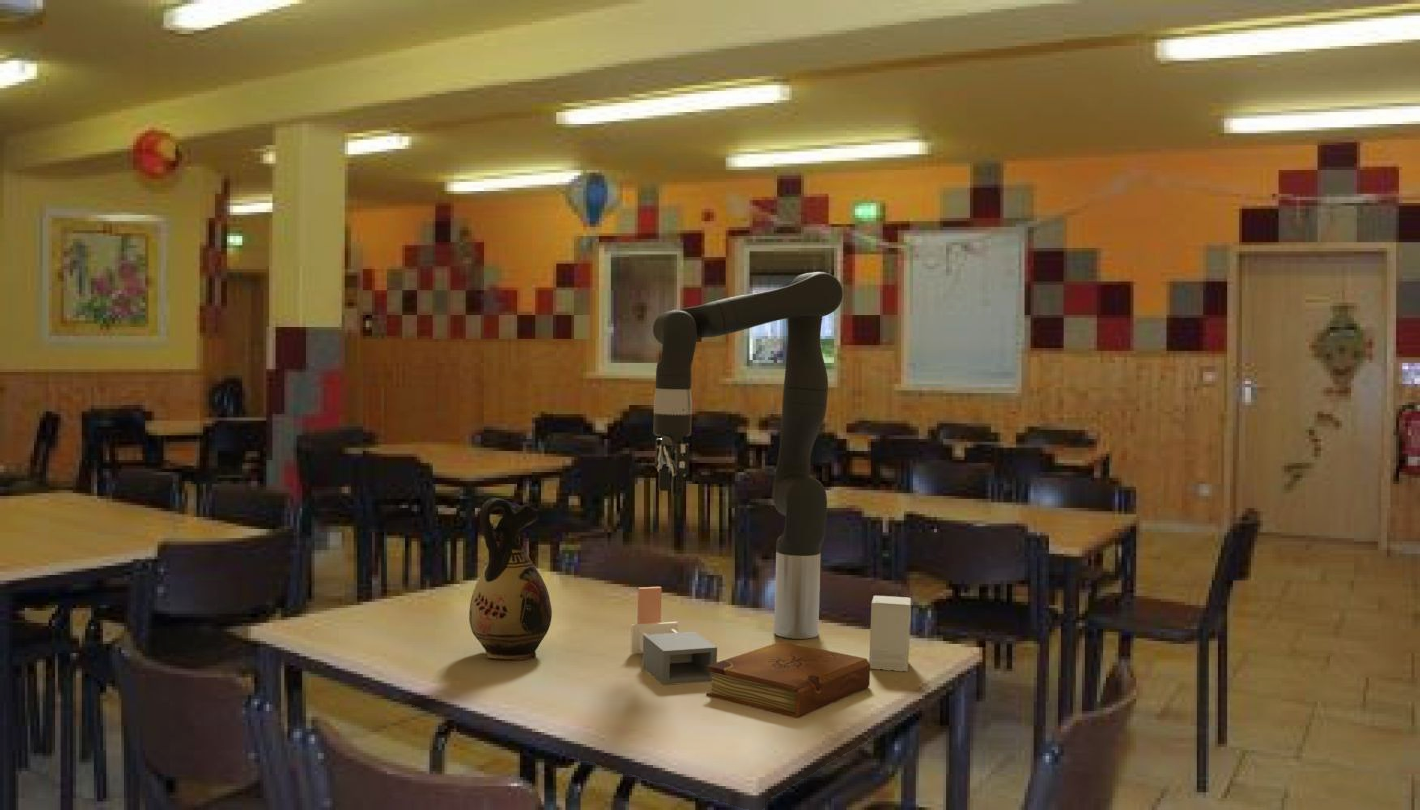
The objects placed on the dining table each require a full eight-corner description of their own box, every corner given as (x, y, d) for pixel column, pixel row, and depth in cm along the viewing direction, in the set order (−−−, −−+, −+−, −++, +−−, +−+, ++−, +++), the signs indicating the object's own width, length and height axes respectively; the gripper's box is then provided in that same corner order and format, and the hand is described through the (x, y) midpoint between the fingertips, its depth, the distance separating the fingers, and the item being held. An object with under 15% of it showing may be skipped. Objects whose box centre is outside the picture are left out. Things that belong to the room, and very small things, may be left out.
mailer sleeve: (693, 663, 218) (694, 631, 218) (716, 680, 207) (717, 647, 206) (642, 667, 215) (643, 634, 214) (662, 685, 203) (663, 651, 203)
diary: (798, 722, 187) (799, 687, 186) (706, 699, 198) (706, 666, 198) (869, 690, 205) (870, 658, 205) (780, 670, 216) (781, 640, 216)
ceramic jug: (519, 640, 232) (522, 490, 230) (567, 656, 221) (570, 499, 219) (445, 654, 220) (447, 496, 218) (491, 672, 209) (494, 505, 208)
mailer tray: (669, 644, 230) (671, 586, 230) (698, 666, 214) (699, 604, 214) (625, 647, 227) (626, 588, 226) (650, 669, 211) (652, 606, 211)
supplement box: (908, 672, 216) (910, 605, 215) (868, 669, 217) (870, 602, 217) (909, 662, 223) (911, 596, 222) (870, 659, 224) (872, 594, 224)
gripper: (702, 413, 225) (700, 497, 226) (679, 409, 239) (677, 488, 240) (665, 413, 223) (663, 498, 224) (644, 409, 236) (642, 489, 237)
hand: (670, 493), depth 232 cm, fingers open, 8 cm apart
